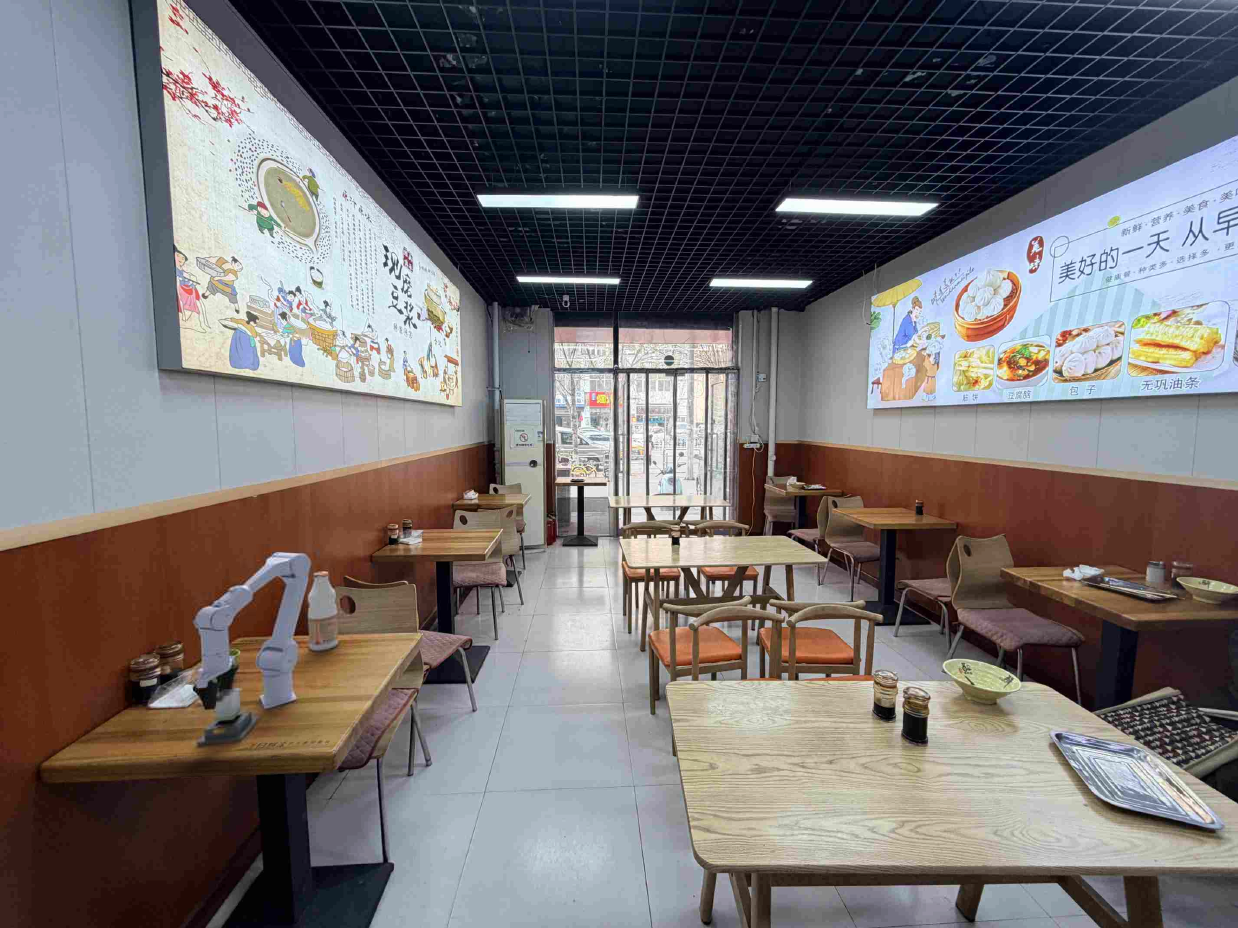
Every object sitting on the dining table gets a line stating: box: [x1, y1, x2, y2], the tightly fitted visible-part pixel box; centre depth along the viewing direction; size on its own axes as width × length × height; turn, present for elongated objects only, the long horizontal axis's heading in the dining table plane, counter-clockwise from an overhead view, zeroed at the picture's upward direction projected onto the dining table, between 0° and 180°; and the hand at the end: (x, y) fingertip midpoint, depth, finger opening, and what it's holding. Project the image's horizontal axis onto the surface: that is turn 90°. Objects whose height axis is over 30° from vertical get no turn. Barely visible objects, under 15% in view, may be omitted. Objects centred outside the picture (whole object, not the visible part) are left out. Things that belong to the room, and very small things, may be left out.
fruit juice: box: [307, 571, 339, 651], centre depth 193 cm, size 9×9×28 cm
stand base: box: [196, 710, 260, 747], centre depth 138 cm, size 10×10×4 cm
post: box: [214, 687, 242, 721], centre depth 137 cm, size 4×4×6 cm
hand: (218, 701), depth 137 cm, fingers open, 7 cm apart
